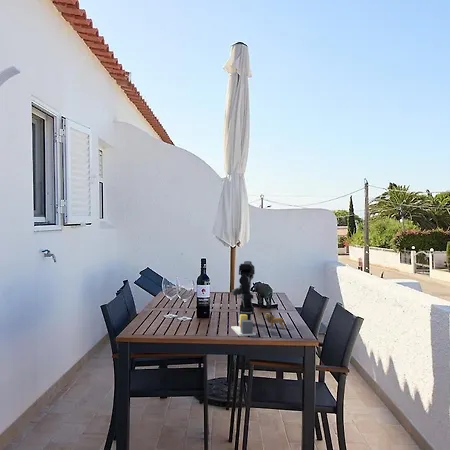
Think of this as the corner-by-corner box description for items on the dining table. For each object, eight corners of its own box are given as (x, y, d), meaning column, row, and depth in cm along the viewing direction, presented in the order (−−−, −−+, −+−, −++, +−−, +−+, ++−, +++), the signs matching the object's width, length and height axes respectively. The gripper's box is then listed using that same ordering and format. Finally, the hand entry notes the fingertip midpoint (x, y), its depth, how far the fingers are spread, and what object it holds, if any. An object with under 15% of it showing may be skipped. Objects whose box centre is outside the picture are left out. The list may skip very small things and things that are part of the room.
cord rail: (231, 328, 296) (231, 315, 296) (246, 327, 298) (246, 314, 298) (239, 335, 274) (239, 322, 274) (255, 335, 276) (256, 321, 276)
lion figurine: (263, 327, 298) (263, 313, 298) (265, 326, 303) (265, 312, 303) (286, 329, 293) (286, 315, 293) (288, 327, 298) (288, 313, 298)
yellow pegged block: (239, 326, 287) (239, 314, 287) (245, 326, 288) (246, 314, 288) (240, 328, 283) (240, 315, 283) (247, 327, 284) (247, 315, 284)
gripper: (229, 282, 306) (229, 306, 306) (235, 285, 288) (235, 311, 288) (246, 281, 308) (246, 305, 308) (253, 285, 290) (253, 310, 290)
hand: (245, 308), depth 298 cm, fingers closed
